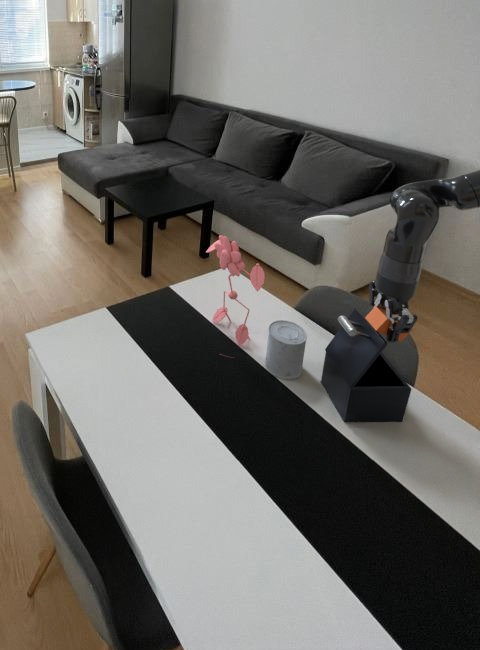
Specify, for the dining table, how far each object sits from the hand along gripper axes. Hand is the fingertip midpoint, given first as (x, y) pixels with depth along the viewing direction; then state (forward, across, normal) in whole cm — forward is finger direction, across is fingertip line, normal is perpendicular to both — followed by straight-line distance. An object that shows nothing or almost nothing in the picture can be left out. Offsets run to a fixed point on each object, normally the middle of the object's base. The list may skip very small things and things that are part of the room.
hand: (384, 333), depth 101 cm
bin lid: (+4, 0, +6) cm, 7 cm away
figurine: (+22, +25, +31) cm, 45 cm away
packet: (-1, 0, +1) cm, 1 cm away
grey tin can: (+22, +12, +17) cm, 30 cm away
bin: (+22, 0, +2) cm, 22 cm away
